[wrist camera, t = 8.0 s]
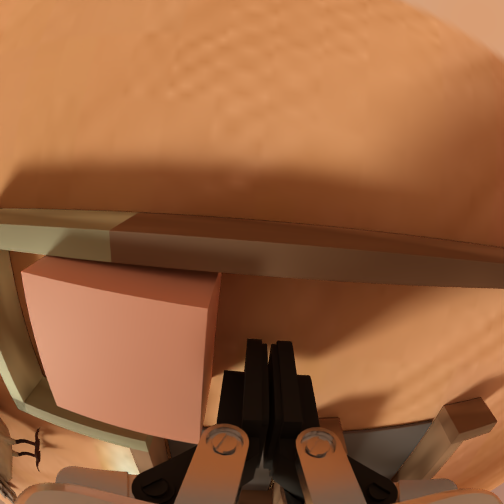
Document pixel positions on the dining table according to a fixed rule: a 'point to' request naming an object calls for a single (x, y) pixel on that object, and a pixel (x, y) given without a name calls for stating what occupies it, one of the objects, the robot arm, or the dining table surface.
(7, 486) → the decorative bird
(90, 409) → the block
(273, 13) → the dining table surface
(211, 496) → the robot arm
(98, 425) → the trap run
